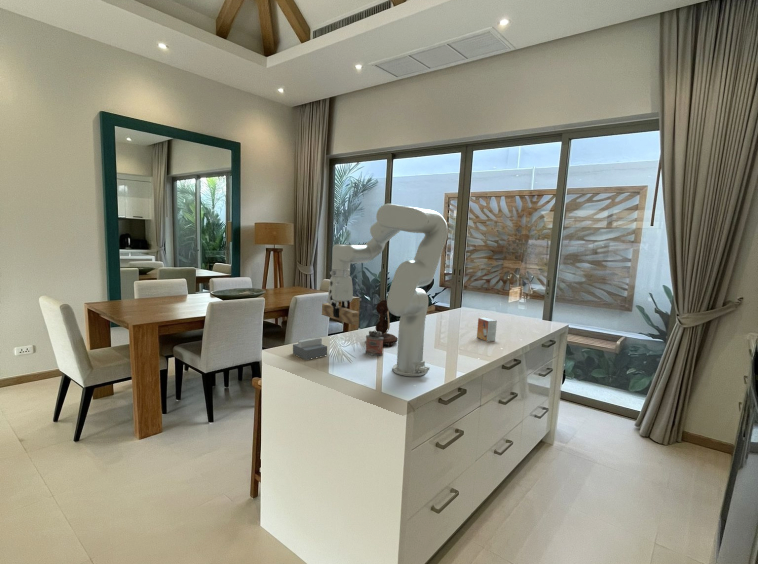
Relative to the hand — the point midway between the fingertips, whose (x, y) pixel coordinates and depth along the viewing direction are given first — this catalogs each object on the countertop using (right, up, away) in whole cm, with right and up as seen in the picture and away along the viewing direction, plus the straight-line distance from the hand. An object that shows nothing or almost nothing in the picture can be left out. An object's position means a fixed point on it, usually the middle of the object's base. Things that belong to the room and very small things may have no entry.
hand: (339, 316), depth 168 cm
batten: (0, -1, 0) cm, 1 cm away
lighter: (+15, -16, 0) cm, 22 cm away
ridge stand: (-12, -15, -6) cm, 20 cm away
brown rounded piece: (+18, -14, +18) cm, 29 cm away
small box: (+72, -15, +34) cm, 81 cm away
